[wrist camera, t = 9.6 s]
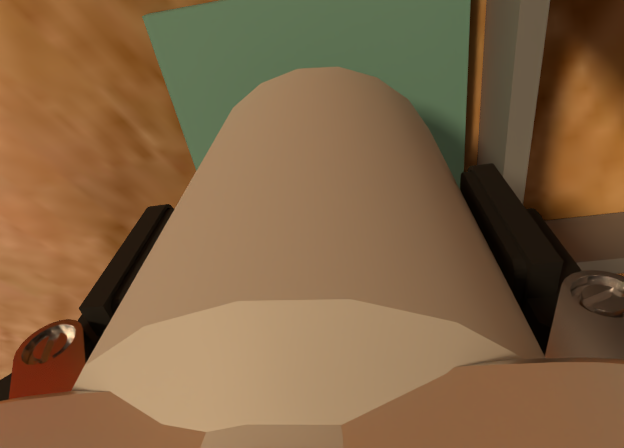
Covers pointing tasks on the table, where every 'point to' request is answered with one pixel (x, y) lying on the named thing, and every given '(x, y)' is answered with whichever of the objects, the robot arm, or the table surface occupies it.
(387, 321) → the can
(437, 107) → the mat
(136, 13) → the table surface
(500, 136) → the grey open box
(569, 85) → the table surface
